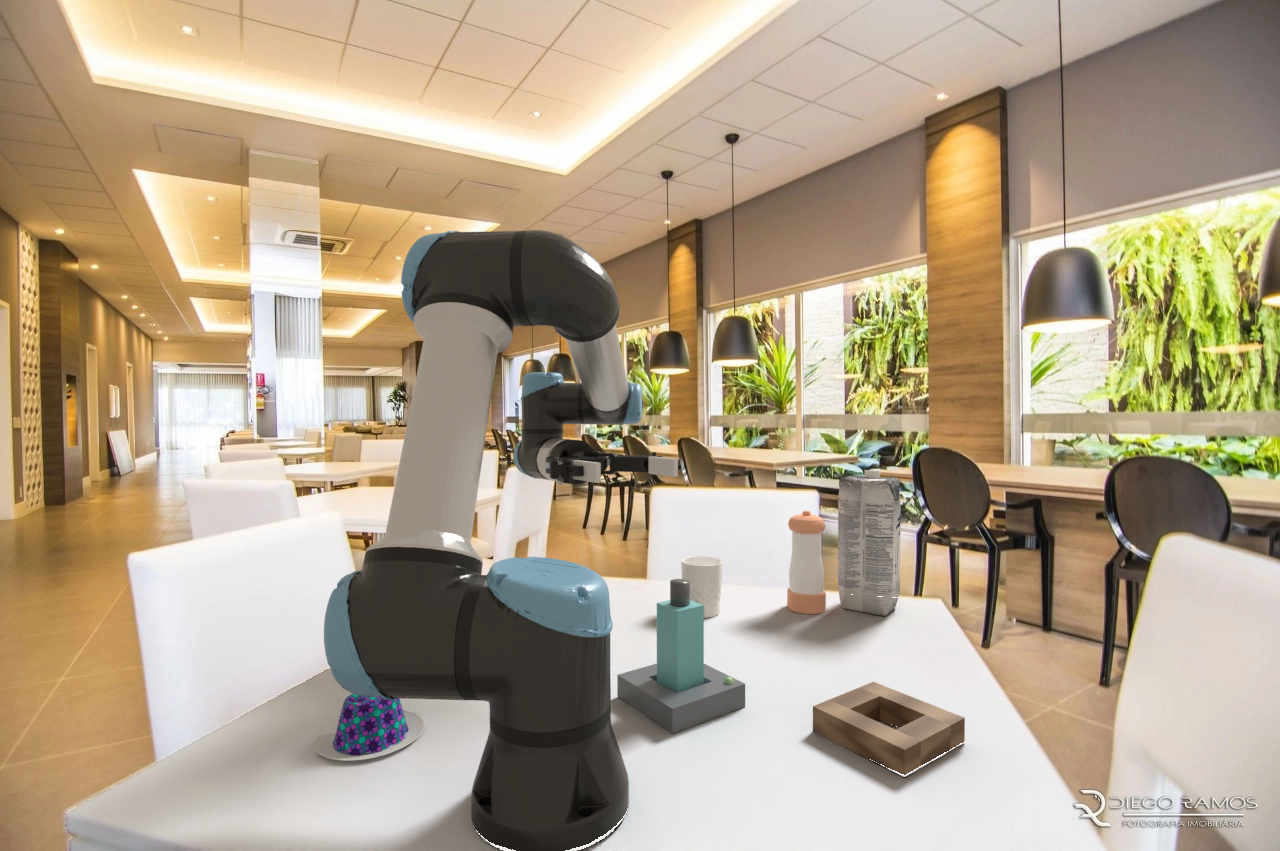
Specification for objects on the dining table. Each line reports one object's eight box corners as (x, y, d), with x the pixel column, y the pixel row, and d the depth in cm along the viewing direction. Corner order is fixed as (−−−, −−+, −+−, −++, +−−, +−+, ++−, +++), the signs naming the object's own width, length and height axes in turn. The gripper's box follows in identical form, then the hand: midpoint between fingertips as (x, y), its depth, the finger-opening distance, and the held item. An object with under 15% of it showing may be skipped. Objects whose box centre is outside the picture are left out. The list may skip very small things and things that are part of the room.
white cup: (721, 606, 124) (721, 556, 124) (723, 619, 116) (723, 566, 116) (681, 605, 125) (681, 555, 125) (680, 618, 117) (680, 565, 117)
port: (745, 706, 82) (745, 678, 82) (672, 733, 75) (672, 702, 75) (686, 675, 92) (686, 650, 92) (617, 696, 85) (617, 669, 85)
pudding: (385, 706, 83) (384, 666, 83) (445, 731, 76) (445, 688, 76) (293, 746, 73) (292, 701, 73) (353, 779, 66) (353, 730, 66)
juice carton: (889, 619, 116) (890, 473, 116) (834, 609, 123) (834, 470, 122) (902, 607, 123) (903, 470, 123) (849, 598, 130) (850, 467, 129)
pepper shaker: (830, 614, 119) (830, 513, 119) (791, 614, 120) (792, 513, 119) (820, 602, 127) (820, 508, 126) (783, 602, 127) (784, 507, 127)
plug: (703, 703, 83) (703, 582, 82) (677, 712, 80) (677, 587, 80) (682, 691, 86) (682, 575, 86) (656, 699, 84) (656, 580, 84)
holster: (964, 743, 73) (964, 717, 73) (904, 778, 66) (904, 749, 66) (873, 704, 82) (873, 681, 82) (812, 731, 75) (812, 706, 75)
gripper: (628, 478, 115) (704, 490, 98) (499, 488, 101) (561, 503, 83) (628, 437, 115) (704, 441, 98) (498, 441, 101) (561, 446, 83)
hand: (639, 470), depth 90 cm, fingers open, 13 cm apart
